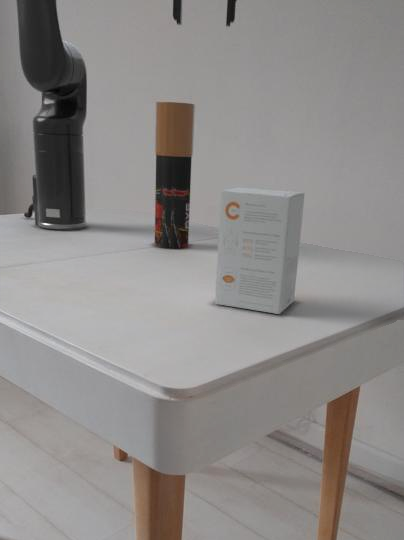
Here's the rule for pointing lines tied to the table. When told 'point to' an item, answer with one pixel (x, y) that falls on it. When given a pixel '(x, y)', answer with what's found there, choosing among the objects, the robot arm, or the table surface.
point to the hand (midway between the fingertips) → (203, 24)
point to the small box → (258, 248)
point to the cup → (174, 129)
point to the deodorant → (172, 201)
